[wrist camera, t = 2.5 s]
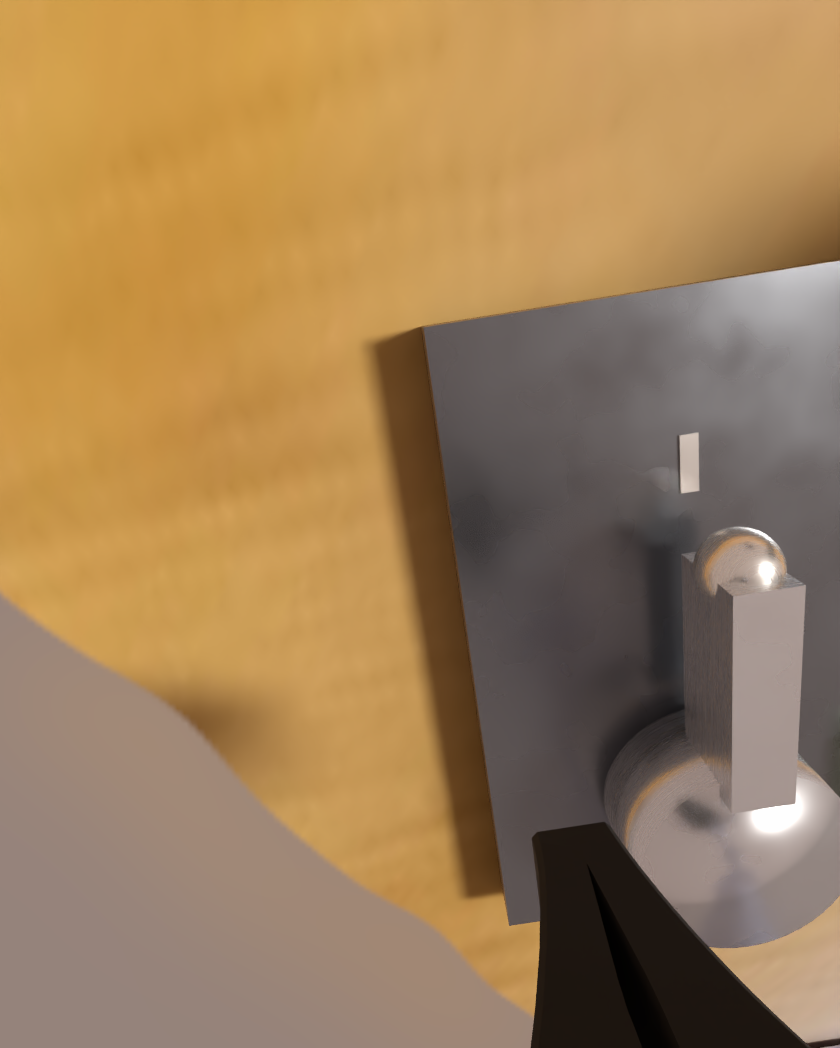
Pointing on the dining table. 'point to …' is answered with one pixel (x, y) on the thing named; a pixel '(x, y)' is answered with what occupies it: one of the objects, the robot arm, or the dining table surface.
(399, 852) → the dining table surface
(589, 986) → the robot arm
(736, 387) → the lever base plate
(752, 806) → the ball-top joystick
